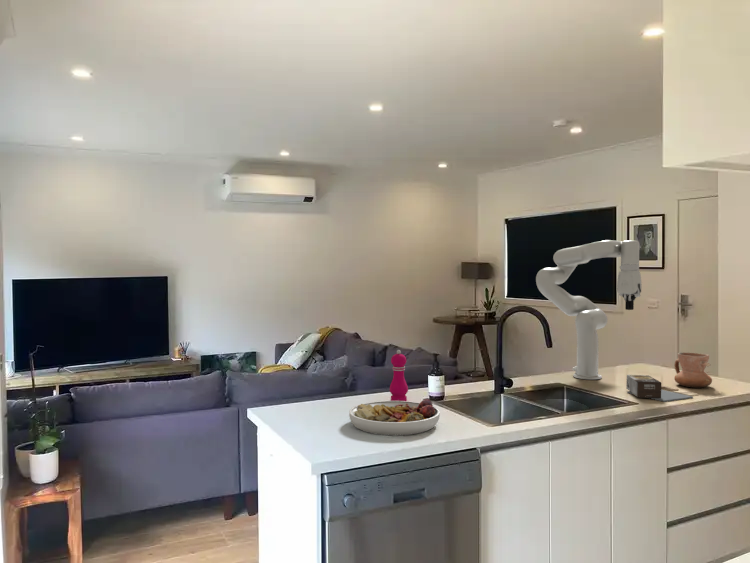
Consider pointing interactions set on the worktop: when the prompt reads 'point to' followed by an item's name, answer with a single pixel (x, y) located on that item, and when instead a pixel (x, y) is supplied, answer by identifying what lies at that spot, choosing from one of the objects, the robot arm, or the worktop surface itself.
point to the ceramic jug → (692, 370)
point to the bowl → (395, 417)
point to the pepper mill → (398, 378)
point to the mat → (669, 396)
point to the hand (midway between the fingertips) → (629, 309)
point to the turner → (678, 391)
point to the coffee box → (644, 386)
